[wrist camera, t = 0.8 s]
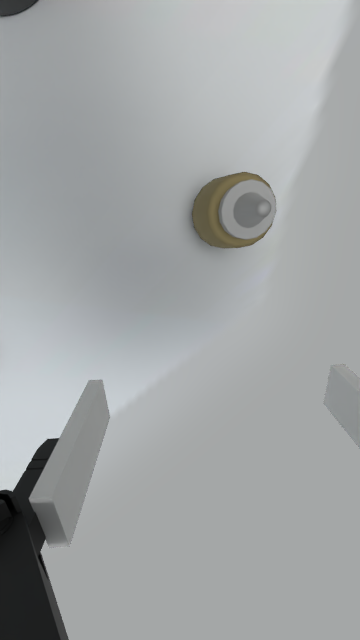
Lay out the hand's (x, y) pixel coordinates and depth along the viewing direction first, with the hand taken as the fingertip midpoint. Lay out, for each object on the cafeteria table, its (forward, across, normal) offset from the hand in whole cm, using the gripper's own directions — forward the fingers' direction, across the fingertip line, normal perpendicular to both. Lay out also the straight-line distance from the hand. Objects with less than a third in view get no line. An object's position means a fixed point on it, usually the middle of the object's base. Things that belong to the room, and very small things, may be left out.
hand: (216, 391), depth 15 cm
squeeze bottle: (+25, +4, +9) cm, 27 cm away
